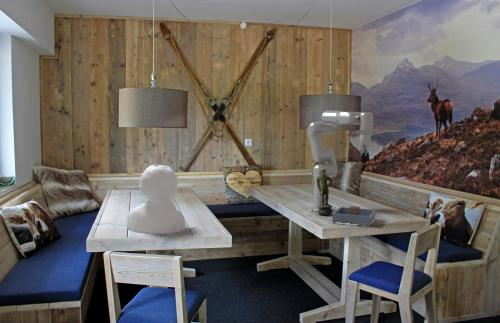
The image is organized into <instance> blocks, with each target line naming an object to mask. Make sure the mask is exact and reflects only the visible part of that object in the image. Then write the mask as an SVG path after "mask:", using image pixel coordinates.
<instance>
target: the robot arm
mask: <svg viewBox="0 0 500 323" xmlns="http://www.w3.org/2000/svg"><path fill="white" fill-rule="evenodd" d="M340 125H355V126H356V125H359V137H360V138H359V139H360V140H359V153H361V154H360V163H362V164H363V163H365V164H366V163H368V162H370V151H371V144H372V143H371V141H372V140H371V138H372V136H374V135H373V132H374V131H373V130H374V113H372V112H370V111H369V112H368V111H367V112H365V111H364V112H361V111H343V110H325V111H324V112H322V114H321V121H313V122H311V123H310V124H309V125H308V128H307V130H306V131H307V138H308V139H309V144H310V149H311V154H312V160H313V161H314V162H316V163H319V164H316V165H314V166H313V167H312V174H313V175H312V176H313V206H312V207H311V208H310V210H311V209H312V210H319V208H318V206H321V204H322V200H321V195H320V192H319V189H318V186H317V181H316V178H317V177H318V176H320V175H321V172H320V170H321V169H322V168H324V169H326V173H325V175H327V176H329V177H330V178H334V177H336V176H337V174H338V164H337V158H336V153H335V152H334V149H332V148H330V147H325V146H324V145H325V144H324V141H323V139H322V137H321V136H320V135H330V134H333V133H334V131H335V130H336V129H337V128H338V127H339V126H340ZM319 184H320V182H319ZM327 184H329V183H328V181H327ZM320 187H321V185H320ZM325 197H326V195H324V205H325V204H326V202H325ZM312 210H311V211H312Z"/></svg>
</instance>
